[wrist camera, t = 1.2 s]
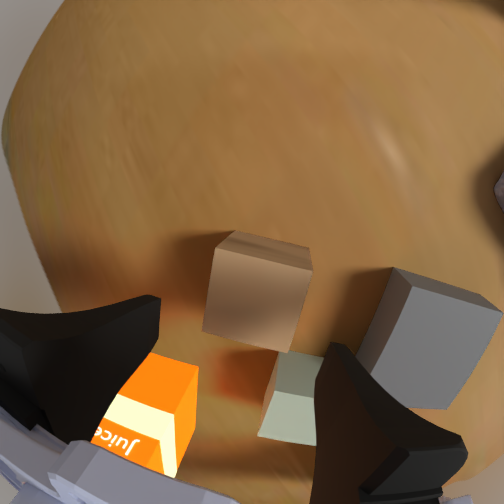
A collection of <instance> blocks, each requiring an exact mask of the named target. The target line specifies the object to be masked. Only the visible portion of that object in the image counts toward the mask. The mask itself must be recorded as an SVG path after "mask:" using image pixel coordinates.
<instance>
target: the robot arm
mask: <svg viewBox="0 0 504 504" xmlns="http://www.w3.org/2000/svg"><path fill="white" fill-rule="evenodd" d="M160 306H161V298H158V297H155V296H152V295H143V296H139V297H136V298H132V299H129V300H125V301H122V302H118V303H115V304H111V305H107V306H103V307H99V308H95V309H91V310H85V311H79V312H71V313H55V314H38V313H36V314H35V313H25V312H17V311H11V310H6V309H1V308H0V474H1V475H2V476H3V477H4V478H5V479H6V480H7V481H8V482H9V483H10V484H11V485H12V486H13V487H15V488H16V489H17V490H18V491H19V492H18V494H17V495H16V496H15V497H14V499H13V500H12V501H11V503H10V504H241V503H239V502H238V501H236V500H235V499H233V498H232V497H230V496H228V495H225V494H222V493H219V492H216V491H213V490H211V489H208V488H205V487H201V486H198V485H195V484H191V483H188V482H185V481H182V480H179V479H176V478H173V477H170V476H167V475H165V474H162V473H159V472H157V471H154V470H152V469H149V468H147V467H144V466H142V465H139V464H137V463H135V462H133V461H130V460H128V459H126V458H124V457H122V456H119V455H117V454H115V453H113V452H111V451H109V450H107V449H105V448H103V447H101V446H98V445H96V444H93V443H91V441H92V439H93V437H94V435H95V433H96V431H97V429H98V427H99V425H100V423H101V421H102V419H103V417H104V416H105V414H106V412H107V410H108V408H109V407H110V405H111V403H112V402H113V400H114V399H115V397H116V395H117V394H118V392H119V391H120V390H121V388H122V387H123V386H124V384H125V383H126V382H127V381H128V380H129V378H130V377H131V376H132V375H133V373H134V372H135V371H136V370H137V369H138V367H139V366H140V365H141V364H142V362H143V361H144V360H145V359H146V358H147V356H148V355H149V353H150V352H151V350H152V348H153V347H154V345H155V343H156V341H157V340H158V337H159V320H160ZM314 413H315V428H316V459H315V469H314V477H313V485H312V491H311V497H310V503H309V504H473V502H472V499H471V496H470V495H465V496H462V497H458V498H454V499H451V498H449V497H445V496H442V494H443V491H442V487H441V486H442V485H443V484H445V483H446V482H447V481H448V480H449V479H450V478H451V477H452V476H453V475H454V474H456V473H457V472H458V471H459V469H460V468H461V467H462V466H463V465H464V463H465V461H466V459H467V457H468V452H467V449H466V447H465V444H464V442H463V440H462V438H461V436H460V435H458V434H455V433H453V432H450V431H448V430H445V429H443V428H441V427H438V426H436V425H434V424H432V423H431V422H429V421H427V420H425V419H423V418H422V417H420V416H418V415H417V414H415V413H414V412H412V411H411V410H409V409H408V408H406V407H405V406H404V405H402V404H401V403H400V402H398V401H397V400H396V399H395V398H394V397H392V396H391V395H390V394H389V393H388V392H387V391H386V390H385V389H384V388H383V387H382V386H381V385H380V384H379V383H378V382H377V381H376V380H375V379H374V378H373V377H372V376H371V375H370V374H369V373H368V371H367V370H366V369H365V368H364V367H363V366H362V364H361V363H360V362H359V361H358V360H357V358H356V357H355V356H354V355H353V353H352V352H351V351H350V350H349V349H348V348H347V347H346V346H345V345H344V344H339V343H334V342H330V345H329V347H328V350H327V352H326V355H325V357H324V360H323V362H322V364H321V367H320V369H319V371H318V374H317V376H316V378H315V387H314ZM441 496H442V497H441ZM438 497H440V498H438Z"/></svg>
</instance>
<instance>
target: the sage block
mask: <svg viewBox="0 0 504 504" xmlns="http://www.w3.org/2000/svg"><path fill="white" fill-rule="evenodd" d="M323 360H324V358H323V357H318V356H313V355H308V354H303V353H299V352H294V351H288V353H284V352H280V351H279V353H278V356H277V359H276V362H275V365H274V368H273V371H272V374H271V377H270V380H269V383H268V386H267V389H266V392H265V396H264V402H263V408H262V413H261V418H260V424H259V429H258V434H257V436H260V437H265V438H270V439H275V440H280V441H286V442H292V443H299V444H306V445H313V446H316V428H315V413H314V387H315V378H316V376H317V374H318V371H319V369H320V367H321V364H322V362H323Z"/></svg>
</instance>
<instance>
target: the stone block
mask: <svg viewBox="0 0 504 504" xmlns="http://www.w3.org/2000/svg"><path fill="white" fill-rule="evenodd" d="M494 193H495V196H496V199H497V201H498V203H499V205H500V207H501V209H502V211H503V213H504V171H503V173H502V175H501V177H500V179H499V181H498V182H497V183H496V185H495V187H494Z"/></svg>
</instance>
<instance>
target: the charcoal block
mask: <svg viewBox="0 0 504 504" xmlns="http://www.w3.org/2000/svg"><path fill="white" fill-rule="evenodd" d="M502 316H503V312H502V311H500V310H499V309H498V308H497V307H495V306H494V305H493V304H492V303H490V302H489V301H488V300H486V299H485V298H484V297H483V296H481V295H480V294H477V293H474V292H471V291H468V290H465V289H462V288H459V287H455V286H452V285H449V284H446V283H443V282H440V281H437V280H434V279H430V278H427V277H424V276H421V275H418V274H414V273H411V272H408V271H405V270H401V269H398V268H395V267H393V270H392V273H391V275H390V278H389V281H388V283H387V286H386V288H385V291H384V293H383V296H382V298H381V301H380V303H379V305H378V308H377V310H376V313H375V315H374V317H373V319H372V322H371V324H370V326H369V328H368V331H367V333H366V335H365V337H364V339H363V341H362V343H361V345H360V348H359V350H358V352H357V354H356V356H355V357H356V358H357V360H358V361H359V362H360V363H361V364H362V366H363V367H364V368H365V369H366V370H367V371H368V373H369V374H370V375H371V376H372V377H373V378H374V379H375V380H376V381H377V382H378V383H379V384H380V385H381V386H382V387H383V388H384V389H385V390H386V391H387V392H388V393H389V394H390V395H391V396H392V397H394V398H395V399H396V400H397V401H398V402H400V403H401V404H402V405H404V406H405V407H408V408H423V409H446V410H447V408H448V407H449V406H450V404H451V403H452V402H453V400H454V399H455V397H456V396H457V394H458V393H459V392H460V390H461V389H462V387H463V386H464V384H465V383H466V381H467V380H468V378H469V376H470V375H471V373H472V372H473V370H474V368H475V367H476V365H477V363H478V362H479V360H480V358H481V356H482V355H483V353H484V351H485V349H486V348H487V346H488V344H489V342H490V340H491V338H492V336H493V334H494V332H495V330H496V328H497V326H498V324H499V322H500V320H501V318H502Z"/></svg>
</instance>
